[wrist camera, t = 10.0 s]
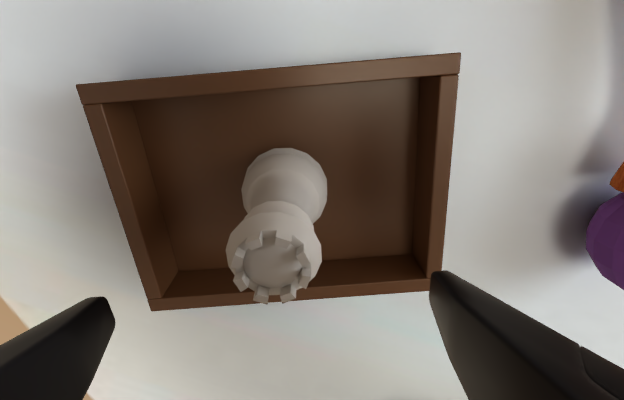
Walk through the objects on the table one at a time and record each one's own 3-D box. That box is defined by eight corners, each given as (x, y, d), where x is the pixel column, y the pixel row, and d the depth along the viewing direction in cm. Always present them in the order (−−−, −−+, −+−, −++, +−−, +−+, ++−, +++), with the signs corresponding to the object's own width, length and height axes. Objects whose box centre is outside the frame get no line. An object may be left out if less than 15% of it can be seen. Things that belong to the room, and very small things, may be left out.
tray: (421, 258, 20) (440, 290, 17) (172, 277, 20) (150, 311, 17) (433, 55, 16) (461, 52, 13) (116, 81, 16) (74, 84, 13)
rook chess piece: (300, 235, 19) (297, 346, 11) (230, 199, 18) (176, 293, 10) (343, 172, 17) (370, 250, 10) (269, 128, 16) (238, 179, 9)
